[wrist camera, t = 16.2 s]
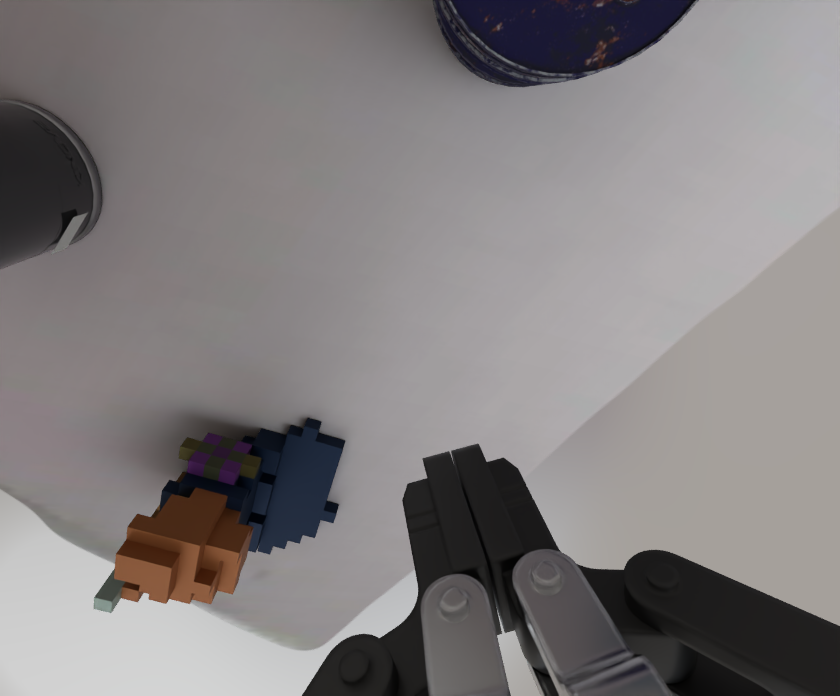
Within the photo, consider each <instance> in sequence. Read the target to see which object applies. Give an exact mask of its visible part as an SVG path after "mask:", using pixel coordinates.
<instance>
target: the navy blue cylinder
mask: <svg viewBox="0 0 840 696" xmlns="http://www.w3.org/2000/svg"><path fill="white" fill-rule="evenodd" d="M698 1H699V0H433V5H434V9H435V14H436V18H437V21H438V24H439V26H440V29H441V32H442V34H443V36H444V38H445V40H446V42H447V44H448V46H449V47H450V49H451V51H452V52H453V54H454V55H455V56H456V57H457V59H458V60H459V61H460V62H461V63H462V64H463V65H464V66H465V67H466V68H467V69H468V70H470V71H471V72H473V73H474V74H476V75H477V76H479V77H480V78H483V79H485V80H487V81H490V82H492V83H496V84H500V85H505V86H510V87H527V86H535V85H543V84H551V83H558V82H565V81H569V80H575V79H579V78H582V77H585V76H589V75H592V74H595V73H598V72H600V71H602V70H605V69H608V68H612V67H615V66H617V65H619V64H621V63H623V62H625V61H627V60H630V59H632V58H634V57H636V56H638V55H639V54H641V53H642V52H644V51H645V50H647V49H648V48H649V47H651V46H652V45H654V44H655V43H657V42H658V41H660V40H661V39H662V38H663V37H664V36H665V35H666V34H667V33H669V32H670V31H671V30H672V29H673V28H674V27H675V26H676V25H677V24H678V23H680V22H681V20H682V19H683V18H684V17H685V16H686V15H687V13H688V12H689V11H690V10H691V9H692V8H693V6H694V5H695V4H696V3H697V2H698Z"/></svg>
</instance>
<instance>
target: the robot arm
mask: <svg viewBox="0 0 840 696" xmlns="http://www.w3.org/2000/svg"><path fill="white" fill-rule="evenodd" d="M101 204H102V190H101V183H100V179H99V175H98V172H97V169H96V167H95V164H94V162H93V160H92V158H91V156H90V154H89V152H88V151H87V149H86V147H85V146H84V145H83V143H82V142H81V141H80V139H79V138H78V137H77V136H76V135H75V133H74V132H73V131H72V130H71V129H70V128H69V127H68V126H66V125H65V124H64V123H63V122H62V121H61V120H59V119H58V118H57V117H55V116H54V115H52V114H51V113H49V112H47V111H46V110H44V109H42V108H40V107H37V106H35V105H32V104H29V103H26V102H22V101H17V100H0V269H3V268H5V267H8V266H10V265H13V264H16V263H18V262H21V261H23V260H26V259H29V258H32V257H35V256H37V255H40V254H42V253H45V252H48V251H50V250H53V249H54V251H53V253H52V254H54V253H57V252H59V251H61V250H64V249H66V248H67V247H68V245H70V244H73V243H75V242H77V241H79V240H80V239H82V238H83V237H85V236H86V235H87V234H88V233H89V232H90V231H91V230H92V228H93V227H94V225H95V224H96V222H97V219H98V217H99V214H100V210H101ZM52 254H51V255H52ZM451 453H452V458H453V461H452V458H451V455H450V452H449V451H448V452H445V453H441V454H437V455H433V456H430V457H426V458H422V459H423V462H424V466H425V470H426V474H427V479H423V480H420V481H416V482H412V483H409V484H407V488H406V491H405V494H404V497H403V500H402V501H403V506H404V512H405V517H406V523H407V528H408V533H409V539H410V544H411V550H412V555H413V561H414V566H415V571H416V577H417V582H418V597H417V602H416V604H415V607H414V609H413V610H412V612H411V613H410V615H409V616H408V617H407V619H406V620H405V621H404V622H402V623H401V624H400V625H399V626H397V627H396V628H395V629H393V630H392V631H390V632H388V633H387V634H385V635H384V636H382V637H381V638H378V637H376V636H373V635H369V634H359V635H355V636H351V637H349V638H347V639H345V640H343V641H341V642H340V643H339V644H338V645H336V646H335V648H334V649H333V650H332V651H331V652H330V653H329V655H328V656H327V657H326V659H325V661H324V662H323V664H322V665H321V667H320V668H319V670H318V672H317V673H316V675H315V676H314V678H313V679H312V681H311V682H310V684H309V685H308V687H307V689H306V690H305V692H304V693H303V695H302V696H511V695H510V691H509V687H508V682H507V678H506V673H505V669H504V665H503V661H502V656H501V652H500V647H499V643H498V638H497V635H499V634H502V631H501V627H500V622H499V617H498V613H499V616H500V619H501V622H502V625H503V628H504V631H505V633H507V632H510V631H514V630H515V632H516V635H517V637H518V640H519V643H520V646H521V649H522V652H523V654H524V656H525V658H526V659H527V664H528V667H529V669H530V671H531V674H532V676H533V678H534V681H535V683H536V685H537V688H538V690H539V692H540V694H541V696H840V626H838V625H836V624H833V623H831V622H829V621H827V620H824V619H821V618H819V617H817V616H815V615H813V614H811V613H808V612H806V611H804V610H801V609H799V608H797V607H795V606H792V605H790V604H788V603H786V602H783V601H781V600H779V599H776V598H774V597H772V596H770V595H767V594H765V593H763V592H760V591H758V590H756V589H753V588H751V587H749V586H746V585H744V584H742V583H740V582H738V581H735V580H733V579H731V578H728V577H726V576H724V575H722V574H719V573H717V572H715V571H712V570H710V569H708V568H705V567H703V566H701V565H699V564H696V563H694V562H692V561H689V560H687V559H685V558H683V557H680V556H678V555H676V554H673V553H670V552H666V551H661V550H648V551H643V552H640V553H638V554H636V555H634V556H633V557H632V558H631V559H629V561H628V562H627V564H626V566H625V568H624V570H607V569H605V570H604V569H591V568H586V567H583V566H580V565H578V564H576V563H575V562H574V561H573V560H572V559H571V558H570V557H569V556H567V555H565V554H564V553H562V552H561V551H560V550H559V549H558V547H557V545H556V543H555V541H554V539H553V537H552V535H551V533H550V531H549V529H548V528H547V525H546V523H545V521H544V519H543V517H542V515H541V514H540V511H539V510H538V507H537V505H536V504H535V501H534V500H533V498H532V496H531V494H530V492H529V490H528V488H527V487H526V484H525V482H524V480H523V478H522V476H521V474H520V472H519V470H518V468H516V467H515V466H514V465H512V464H511V463H510V462H509V461H507V460H506V459H505V458H501V459H497V460H493V461H490V462H486V460H485V457H484V455H483V453H482V450H481V448H480V446H479V444H475V445H471V446H467V447H463V448H460V449H456V450H452V451H451ZM453 462H454V464H453ZM496 607H497V608H496ZM497 610H498V613H497Z"/></svg>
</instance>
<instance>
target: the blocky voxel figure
mask: <svg viewBox="0 0 840 696" xmlns="http://www.w3.org/2000/svg"><path fill="white" fill-rule="evenodd" d="M320 426H321V422H320V421H317V420H313V419H310V418H308V419H307V421H306V424H305V426H304V429H303V428H300V427H296V426H293V425H291V427H290V429H289V431H288V433H287V435H283V434H280V433H276V432H273V431H269V430H266V429H262V428H261V430H260V432H259V433H258V435H257V437H256V438H254V437H250V436H247V435H245V437H244V438H243V440H242V442H240V441H236V440H233V439H229V438H226V437H222V436H219V435H215V434H211V433H208V434H207V436H206V437H205V438H204V440H203V441H199V440H195V439H192V438H188V437H187V438H186V440H185V441H184V442H183V444H182V445H181V446H180V452H179V459H183V460H187V461H189V463H188V469H187V473H185V472H182V474H181V475H180V477H179V478H178V480H177V481H172V480H169V482H168V483H167V484H166V486H165V487H164V489H163V490H162V495H161V502H160V505H159V506H158V508H157V509H156V511H155V512H154V514H153V515H152V516H151V517H148V516H144V515H140V514H137V515H136V516H135V518H134V519H133V520H132V522H131V523H130V524H129V526H128V528H127V539H126V541H125V542H124V544H123V545H122V546H121V548H120V549H119V551H118V552H117V553H116V561H115V569H114V570H113V572H112V573H111V575H110V576H109V577H108V579H107V580H106V582H105V583H104V585H103V586H102V587H101V589H100V590H99V592H98V593H97V594H96V596H95V597H94V609H97V610H101V611H105V612H110V613H111V612H112V611H113V609H114V608H115V606H116V605H117V603H118V602H119V600H120V599H121V598H124V599H127V600H131V601H135V602H138V601H139V599H140V598H141V596H142V594H143V593H148V594H149V600H154V601H157V602H161V603H167V602H168V600H169V599H172V600H176V601H180V602H184V603H188V604H190V602H191V600H196V601H200V602H204V603H208V604H211V603H212V601H213V598H214V596H215V594H216V592H217V590H218V591H222V592H225V593H229V594H233V592H234V590H235V588H236V585H237V583H238V580H239V576H240V572H241V569H242V567H243V565H244V562H245V560H246V557H247V553H248V551H252V552H256V550H257V548H258V546H259V548H258V551H259V552H263V553H267V554H270V553H271V550H272V548H273V546H275V547H279V548H283V549H285V547H286V544H287V541H292V542H295V543H299V544H300V541H301V538H302V535H305V536H309V537H313V538H315V536H316V533H317V529H318V526H319V523H320V520H323V521H327V522H330V523H333V522H334V519H335V516H336V513H337V510H338V506H339V504H335V503H331V502H328V501H327V498H328V495H329V491H330V488H331V485H332V482H333V479H334V476H335V472H336V469H337V466H338V463H339V460H340V457H341V453H342V450H343V447H344V444H345V440H341V439H338V438H334V437H331V436H327V435H324V434H320V433H319V429H320ZM259 543H260V544H259Z"/></svg>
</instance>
